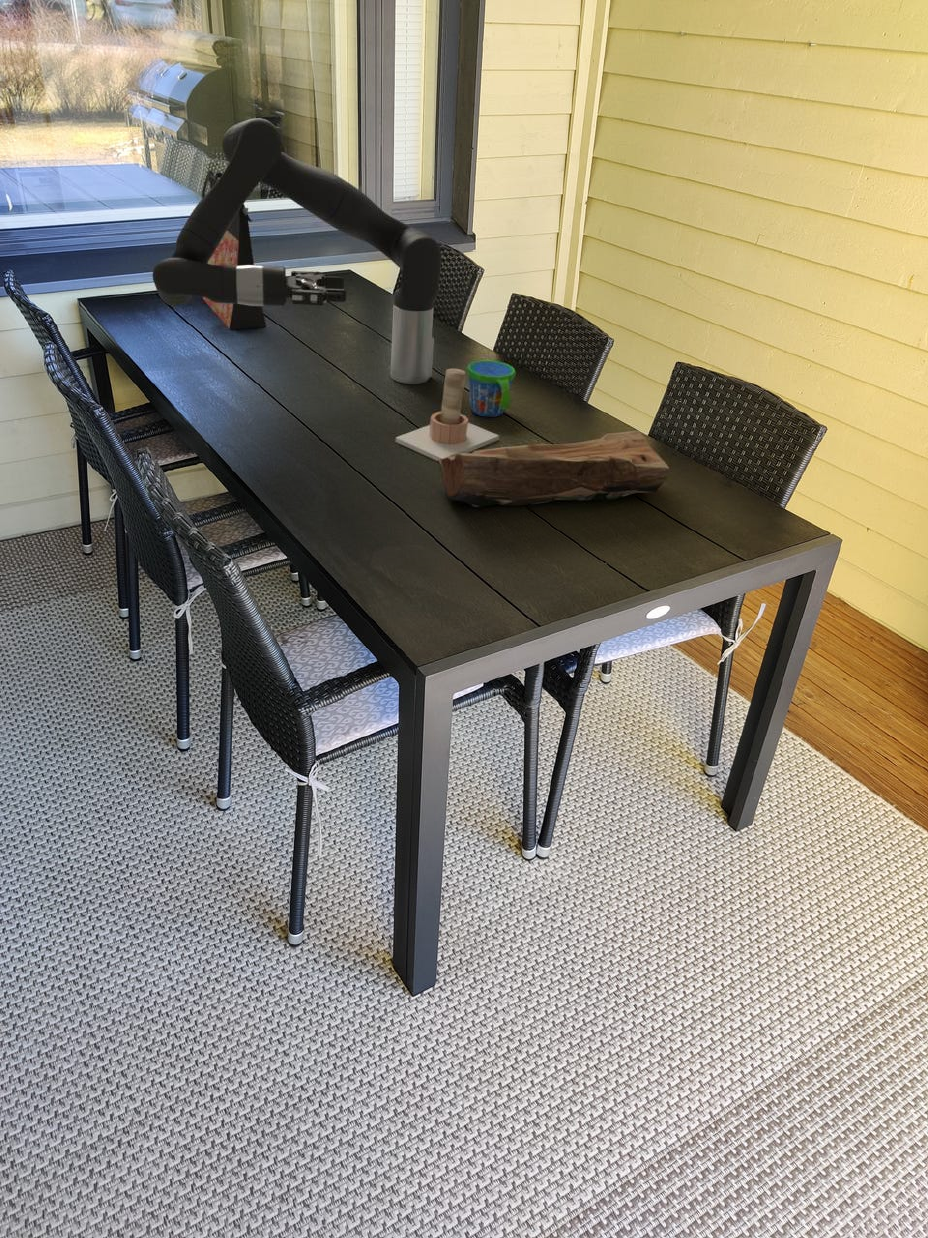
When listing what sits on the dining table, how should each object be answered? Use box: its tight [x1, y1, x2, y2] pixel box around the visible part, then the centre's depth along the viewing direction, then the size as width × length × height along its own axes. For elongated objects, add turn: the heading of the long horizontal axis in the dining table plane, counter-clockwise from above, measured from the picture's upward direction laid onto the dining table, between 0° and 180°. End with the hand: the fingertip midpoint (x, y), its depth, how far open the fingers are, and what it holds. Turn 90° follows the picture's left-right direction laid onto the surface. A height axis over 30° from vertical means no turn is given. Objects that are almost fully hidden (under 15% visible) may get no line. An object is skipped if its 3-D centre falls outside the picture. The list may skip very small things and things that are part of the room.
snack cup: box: [466, 359, 517, 418], centre depth 218 cm, size 16×10×10 cm
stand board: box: [395, 422, 500, 463], centre depth 206 cm, size 18×13×1 cm
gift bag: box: [201, 170, 267, 330], centre depth 251 cm, size 29×14×35 cm, turn 27°
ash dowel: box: [440, 368, 467, 425], centre depth 201 cm, size 4×4×14 cm
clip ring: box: [429, 411, 469, 444], centre depth 204 cm, size 8×8×4 cm
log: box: [437, 430, 670, 508], centre depth 187 cm, size 42×18×15 cm, turn 105°
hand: (344, 289), depth 194 cm, fingers open, 8 cm apart
